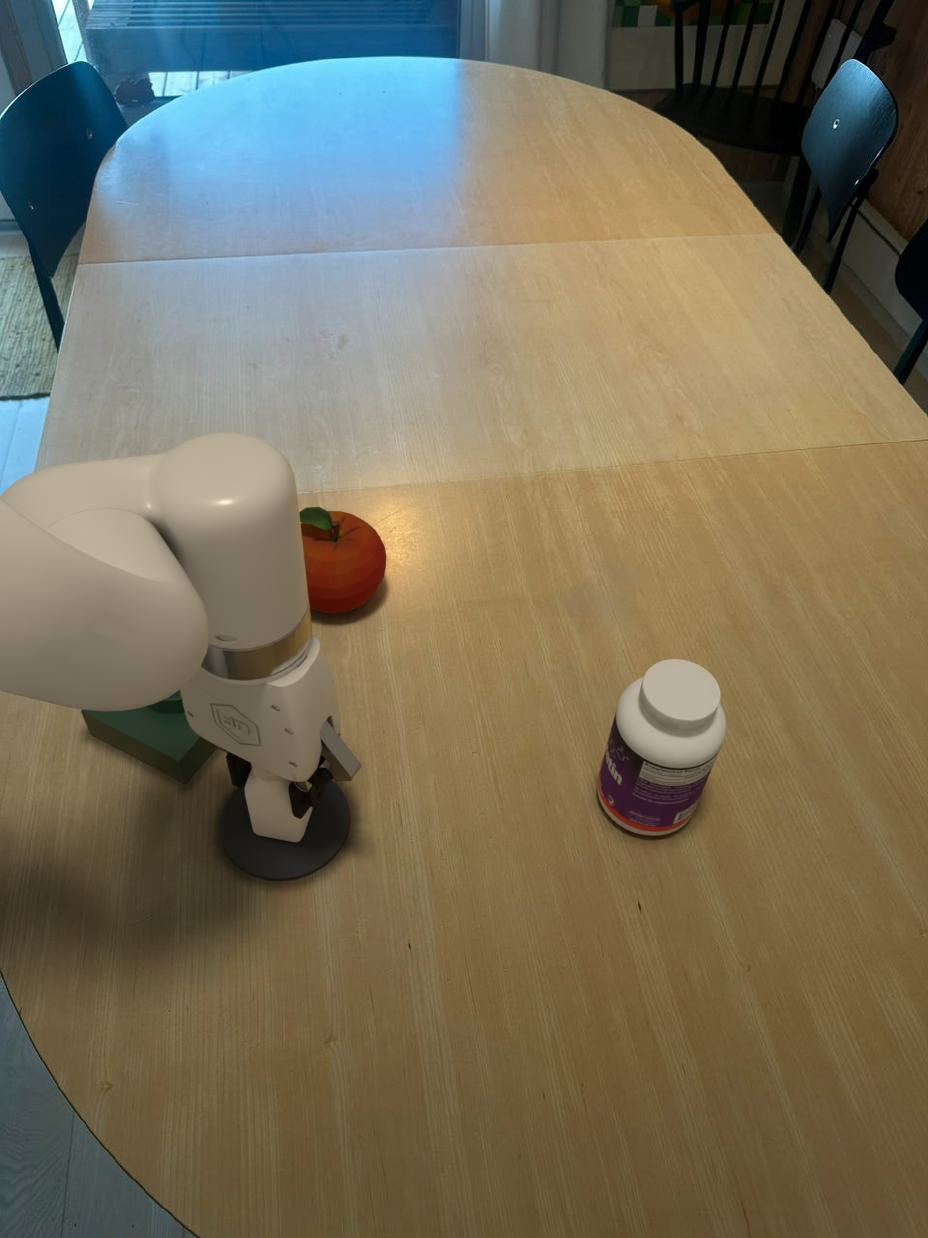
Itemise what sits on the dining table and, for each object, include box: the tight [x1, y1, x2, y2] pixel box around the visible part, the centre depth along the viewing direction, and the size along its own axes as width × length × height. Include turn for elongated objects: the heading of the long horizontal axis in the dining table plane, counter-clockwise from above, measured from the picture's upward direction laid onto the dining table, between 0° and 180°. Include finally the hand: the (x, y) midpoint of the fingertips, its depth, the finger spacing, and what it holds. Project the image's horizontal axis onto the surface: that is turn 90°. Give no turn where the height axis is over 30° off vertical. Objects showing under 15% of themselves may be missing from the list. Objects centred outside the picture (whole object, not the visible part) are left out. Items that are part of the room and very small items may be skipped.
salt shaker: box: [245, 763, 313, 842], centre depth 72 cm, size 4×4×10 cm
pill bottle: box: [596, 658, 727, 837], centre depth 73 cm, size 8×8×14 cm
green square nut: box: [80, 690, 218, 784], centre depth 81 cm, size 12×10×5 cm
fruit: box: [299, 506, 387, 614], centre depth 89 cm, size 10×10×10 cm
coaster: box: [219, 780, 351, 882], centre depth 76 cm, size 10×10×1 cm
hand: (278, 786), depth 72 cm, fingers closed on salt shaker, 4 cm apart
